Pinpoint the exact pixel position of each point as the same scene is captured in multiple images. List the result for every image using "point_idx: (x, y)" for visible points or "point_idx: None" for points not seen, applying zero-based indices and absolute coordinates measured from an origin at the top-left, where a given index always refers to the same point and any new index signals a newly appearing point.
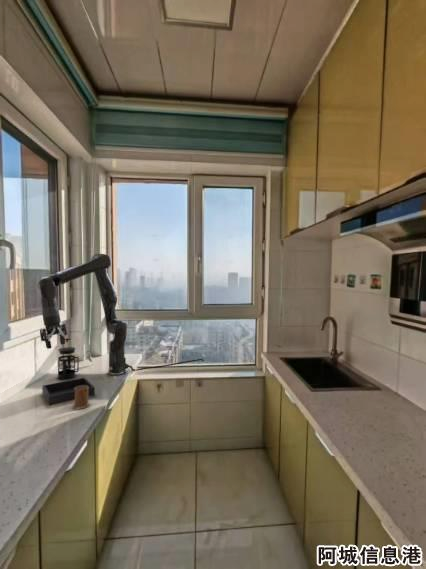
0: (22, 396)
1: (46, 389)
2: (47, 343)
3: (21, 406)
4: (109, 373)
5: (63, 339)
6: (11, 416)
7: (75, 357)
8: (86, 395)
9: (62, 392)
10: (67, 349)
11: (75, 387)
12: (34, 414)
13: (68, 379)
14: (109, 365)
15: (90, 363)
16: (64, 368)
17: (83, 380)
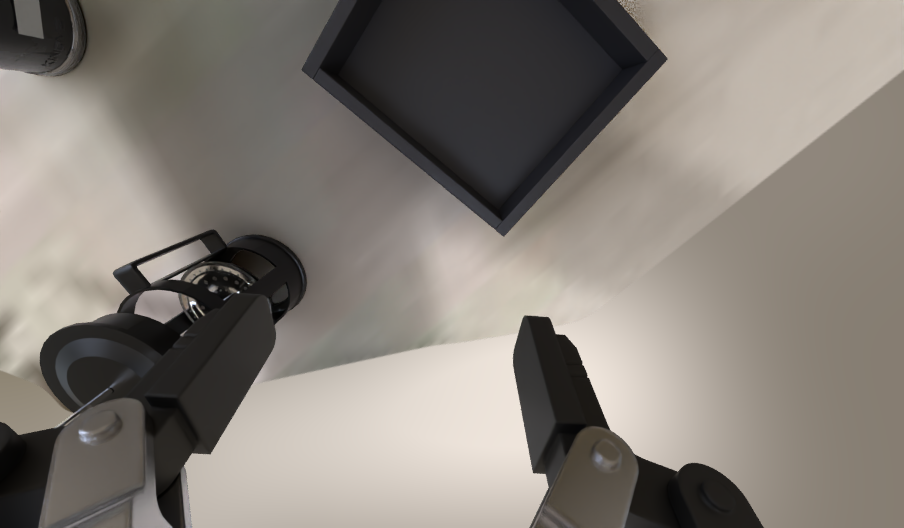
0: (526, 294)
1: (557, 167)
2: (594, 405)
3: (626, 217)
4: (78, 42)
5: (206, 351)
6: (730, 178)
7: (138, 284)
8: None
9: (464, 127)
10: (129, 366)
11: None
12: (713, 84)
13: (283, 244)
14: (3, 32)
15: (34, 298)
16: (263, 288)
17: (328, 63)
